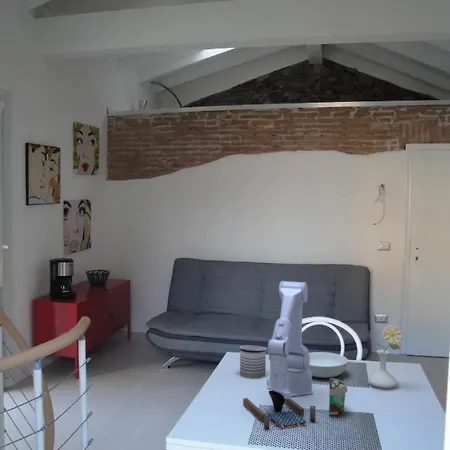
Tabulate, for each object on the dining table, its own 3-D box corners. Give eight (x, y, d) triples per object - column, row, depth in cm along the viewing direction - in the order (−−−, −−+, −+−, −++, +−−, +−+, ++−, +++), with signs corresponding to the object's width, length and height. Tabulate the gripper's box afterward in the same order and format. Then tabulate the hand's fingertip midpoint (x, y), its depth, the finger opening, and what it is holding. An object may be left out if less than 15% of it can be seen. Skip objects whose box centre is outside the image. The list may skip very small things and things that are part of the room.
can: (234, 374, 224) (234, 347, 224) (250, 368, 233) (250, 341, 232) (255, 380, 217) (255, 352, 216) (271, 374, 226) (271, 346, 225)
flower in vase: (366, 388, 209) (367, 325, 208) (369, 379, 219) (370, 319, 218) (400, 393, 204) (402, 328, 203) (402, 383, 214) (403, 322, 213)
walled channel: (282, 399, 197) (282, 392, 196) (304, 415, 182) (304, 408, 181) (243, 405, 191) (243, 398, 191) (261, 422, 176) (261, 415, 176)
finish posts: (313, 420, 178) (313, 405, 178) (316, 422, 177) (316, 407, 176) (262, 428, 172) (263, 413, 171) (265, 430, 170) (265, 415, 170)
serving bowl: (311, 364, 240) (311, 349, 240) (355, 372, 228) (355, 357, 227) (288, 376, 223) (289, 360, 223) (335, 386, 211) (335, 369, 211)
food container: (347, 419, 179) (348, 390, 178) (329, 418, 180) (329, 389, 179) (346, 405, 191) (347, 378, 190) (329, 404, 192) (329, 377, 191)
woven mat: (265, 418, 180) (265, 413, 180) (293, 414, 184) (293, 409, 184) (278, 431, 170) (278, 425, 170) (307, 426, 174) (307, 420, 174)
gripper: (259, 368, 187) (258, 405, 188) (277, 381, 173) (276, 421, 174) (277, 366, 190) (276, 403, 190) (296, 378, 176) (295, 418, 177)
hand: (278, 412), depth 182 cm, fingers closed
